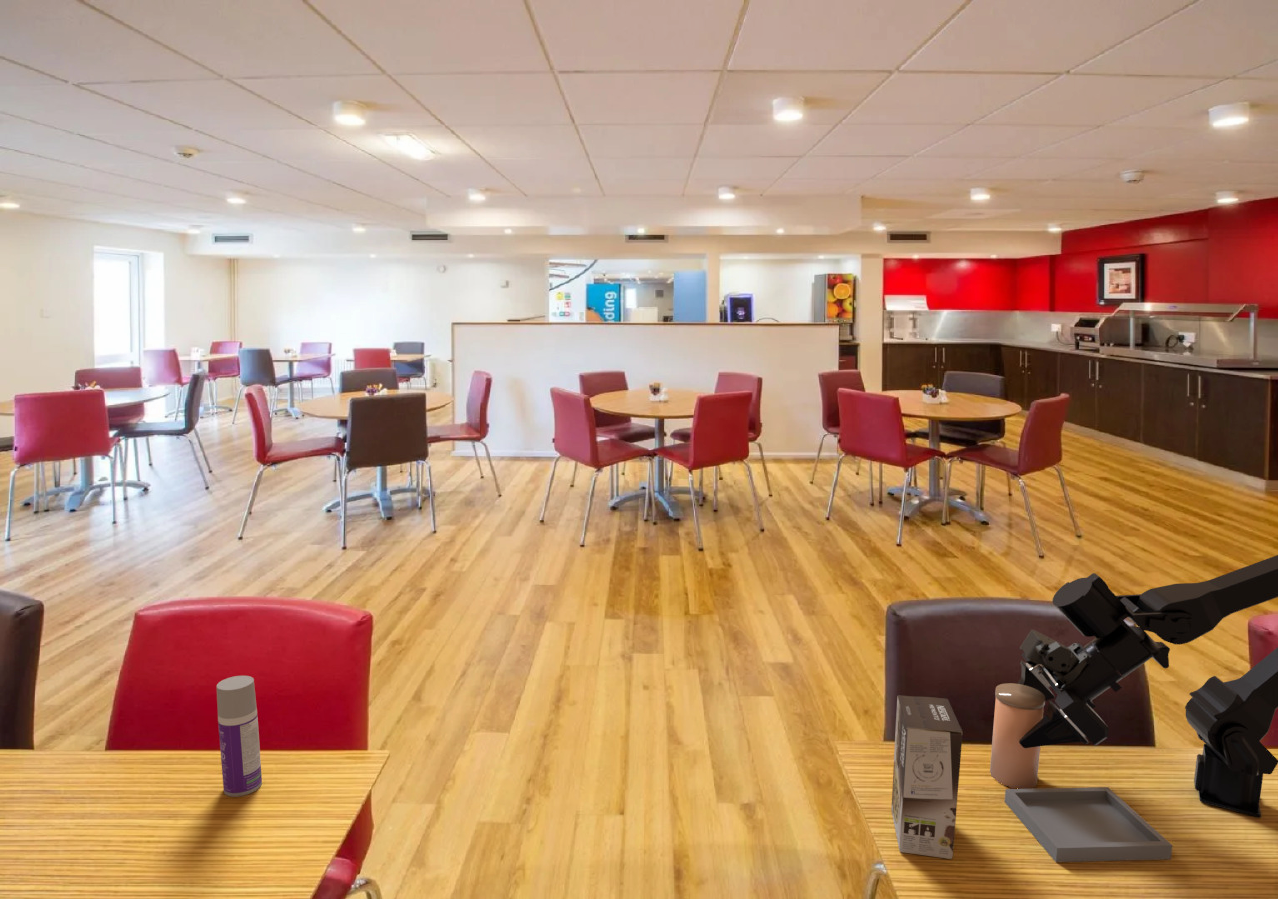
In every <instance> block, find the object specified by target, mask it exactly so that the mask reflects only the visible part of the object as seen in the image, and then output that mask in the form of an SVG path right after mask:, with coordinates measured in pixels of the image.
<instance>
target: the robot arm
mask: <svg viewBox="0 0 1278 899" xmlns="http://www.w3.org/2000/svg"><path fill="white" fill-rule="evenodd" d="M1274 599H1278V554H1275V555H1274V556H1272V557H1271V556H1270V557H1268V558H1266V559H1263V560H1260V561H1257V562H1254V563H1252V564H1249V565H1247V566H1243V567H1241V568H1238V569H1236V570H1233V571H1230V572H1228V573H1225V574H1222V575H1220V576H1216V577H1214V578H1211V579H1209V580H1206V581H1199V582H1189V583H1188V582H1185V583H1183V582H1182V583H1181V582H1180V583H1173V584H1168V585H1163V586H1158V587H1154V588H1150V589H1148V590H1146V591H1144V592H1142V593H1138V594H1121V595H1119V594H1118V595H1116V594H1115V593H1114V592H1113V591H1112V590H1111V589H1110V587H1109V585H1108V584H1107V583H1106V581H1105V580H1104V579H1103V578H1102V577H1101V576H1100V575H1098V574H1097V573H1094V572H1092V573H1090V575H1088V576H1087V577H1081V578H1077V579H1074V580H1072V581H1070V582H1069V581H1068V582H1066V583H1064V584H1063V585H1062V586H1061V587H1059V588H1058V589H1057V591H1056V592H1055V594H1054V595H1053V597H1052V604H1053V606H1055V607H1056V609H1057V610H1058V611H1059V612H1060V613H1061V614H1062V615H1063V616H1064V617H1065V618H1066V619H1067V621H1069V622H1070V624H1072V625H1073V627H1074V628H1075V629H1076V630H1077V631H1078V632H1079V633H1080V634H1081V635H1082V636H1083V637H1085V638H1086V637H1087V638H1089V637H1090V638H1091V637H1094V639H1093V640H1091V641H1089V642H1088V643H1086V644H1085V645H1082V644H1081V643H1080V642H1077V643H1076V642H1074V643H1072V644H1071V645H1069V646H1067V645H1064V644H1063V643H1060V642H1059V641H1057V640H1055V639H1053V638H1051V637H1050V636H1047V635H1045V634H1043V633H1041V632H1040V631H1037V630H1036V629H1030V631H1029V632H1028V634H1027V636H1026V637H1025V639H1024V640H1023V642H1022V643H1021V645H1020V647H1019V649H1020V650H1021V651H1023V652H1022V653H1020V655H1021V656H1022V658H1023V660H1024V661H1025V662H1024V661H1023V660H1020V666H1021V677H1020V679H1019V681H1018V682H1017V684H1021V685H1026V686H1029V687H1032V688H1034V689H1037V690H1038V691H1040V692H1042V693H1043V694H1044V696H1045V702H1048V706H1047V714H1046V715H1045V716H1043V719H1042V720H1041V721H1039V722H1038V723H1037V724H1036V725H1035V726H1034V727H1033V728H1032V729H1030V730H1029V731H1028V732H1027V733H1026V734H1025V735H1024V736H1023V737H1022V738H1021V739H1020V740H1019V743H1020V745H1021V746H1022V747H1023V748H1031V747H1038V746H1040V747H1043V746H1051V745H1061V744H1072V743H1073V744H1074V743H1075V744H1076V743H1083V744H1084V745H1086V744H1087V745H1088V744H1089V743H1090V742H1091V744H1092V745H1093V746H1095V747H1096V746H1097V745H1099V744H1101V743H1102V742H1104V741H1105V740H1106V739H1108V738H1109V730H1110V729H1109V726H1108V725H1107V723H1105V721H1104V719H1102V718H1101V716H1100V715H1099V714H1098V713H1097V712H1096V711H1095V710H1094V709H1095V707H1097V705H1095V704H1094V702H1093V700H1094V699H1096V698H1098V696H1100V695H1102V694H1103V693H1104V692H1106V691H1107V690H1109V689H1112V691H1113V692H1114V693H1117V692H1118V691H1120V690H1121V689H1122V688H1123V687H1121V685H1120V684H1119V683H1118V682H1119V681H1121V680H1122V679H1124V678H1125V677H1127V676H1128V675H1129V674H1131V673H1132V672H1134V671H1135V670H1137V669H1138V668H1140V667H1141V666H1142V665H1144V664H1145V663H1146V662H1148V661H1149V660H1150V659H1153V660H1154V661H1155V662H1156V663H1157V664H1158V665H1160V666H1161V667H1162V668H1163V669H1168V668H1170V659H1169V658H1170V657H1169V654H1170V650H1171V648H1170V647H1169V646H1168V645H1166V643H1164V642H1167V643H1169V644H1173V645H1185V644H1189V643H1191V642H1193V641H1195V640H1197V639H1199V638H1200V637H1202V636H1204V635H1207V634H1208V633H1209V632H1211V631H1213V630H1214V629H1215V628H1216V627H1217V626H1218V625H1219V623H1221V622H1222V620H1223V619H1225V618H1226V617H1229V616H1230V615H1233V614H1234V613H1237V612H1240V611H1241V612H1242V611H1244V610H1245V609H1246V610H1247V609H1249V608H1252V607H1254V606H1257V605H1260V604H1263V603H1265V602H1268V601H1269V602H1270V601H1272V600H1274ZM1127 618H1128V619H1129V620H1130V621H1131V622H1132V623H1134V624H1135V625H1136V626H1135V625H1134V626H1129V624H1128V623H1126V621H1125V619H1127ZM1149 632H1150V633H1154V634H1155V635H1156V636H1157V637H1159V638H1160V639H1161V640H1163V641H1164V642H1162V641H1155V640H1154V639H1153V638H1152V636H1150V635H1149V634H1148V633H1149ZM1050 688H1051V689H1050ZM1051 690H1052V691H1053V692H1054V693H1055V694H1056V695H1057V696H1055V694H1054V693H1053V692H1052V691H1051ZM1189 696H1191V698H1190V699H1189V700H1188V702H1186V705H1185V706H1184V709H1185V719H1186V721H1187V723H1188V724H1189V725H1190V727H1191V728H1193V730H1195V732H1196V734H1197V738H1198V739H1199V740H1200V741H1202V742H1203V747H1202V754H1201V753H1198V754H1196V762H1195V768H1194V778H1193V783H1194V789H1195V790H1196V791H1197V793H1198V800H1199V801H1200V802H1201V803H1204V804H1207V805H1210V806H1211V805H1212V806H1215V807H1219V808H1221V809H1222V808H1223V809H1226V810H1230V811H1233V812H1238V813H1241V814H1245V815H1248V816H1253V817H1256V818H1260V817H1262V810H1261V807H1260V801H1261V796H1262V795H1261V794H1262V786H1263V779H1264V775H1272V774H1273V772H1274V770H1275V769H1276V767H1277V765H1278V758H1276V756H1275V755H1274V754H1272V753H1271V751H1269V750H1268V748H1267V747H1265V745H1264V744H1263V743H1261V742H1262V740H1263V738H1265V736H1266V735H1267V734H1268V732H1269V731H1270V728H1271V725H1272V723H1273V719H1274V716H1275V713H1276V710H1277V709H1278V646H1277V647H1276V648H1274V649H1273V650H1272V651H1271V652H1270V653H1268V654H1267V655H1266V656H1265V657H1264V658H1263V659H1261V660H1260V661H1259V662H1258V663H1257V664H1256V665H1254V666H1253V667H1252V668H1250V670H1248V671H1247V672H1246V673H1245V674H1243V675H1242V676H1241V677H1238V678H1237V679H1233V680H1228V681H1224V682H1223V681H1222V680H1221V679H1220V678H1219V677H1217V676H1215V675H1213V676H1211V677H1209V678H1208V679H1207V680H1206V681H1205V682H1204V684H1203V685H1202V686H1201V687H1199V688H1198V689H1197V690H1194V691H1191V692H1189ZM1052 699H1055V700H1054V702H1055V703H1054V702H1053V701H1052ZM1088 740H1089V741H1090V742H1089V741H1088Z"/></svg>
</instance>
